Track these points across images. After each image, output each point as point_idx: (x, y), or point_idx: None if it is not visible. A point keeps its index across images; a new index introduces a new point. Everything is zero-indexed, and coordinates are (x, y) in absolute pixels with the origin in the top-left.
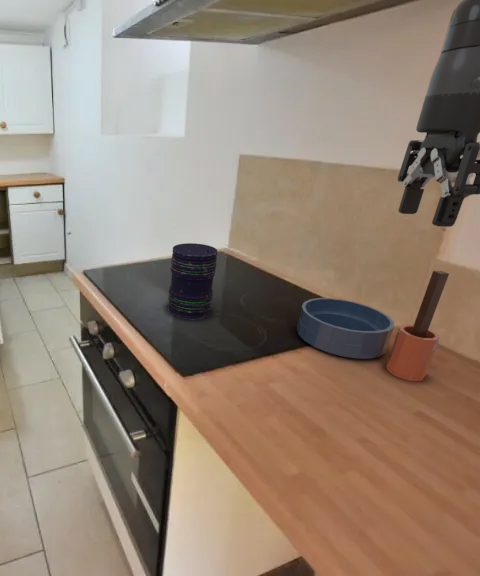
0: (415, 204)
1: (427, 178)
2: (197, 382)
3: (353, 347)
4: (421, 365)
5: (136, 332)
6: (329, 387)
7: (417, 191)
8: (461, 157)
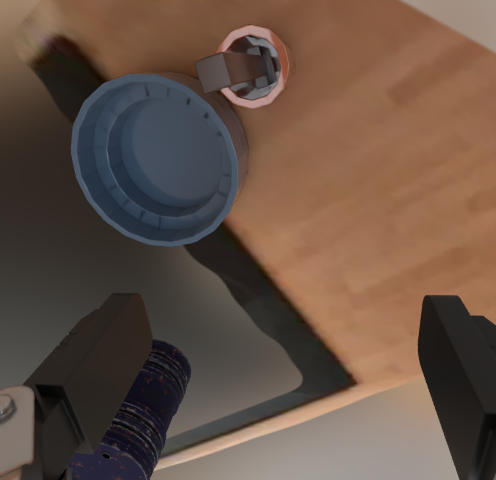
0: (120, 332)
1: (40, 475)
2: (367, 370)
3: (244, 163)
4: (291, 57)
5: (256, 426)
6: (345, 213)
7: (84, 399)
8: None
